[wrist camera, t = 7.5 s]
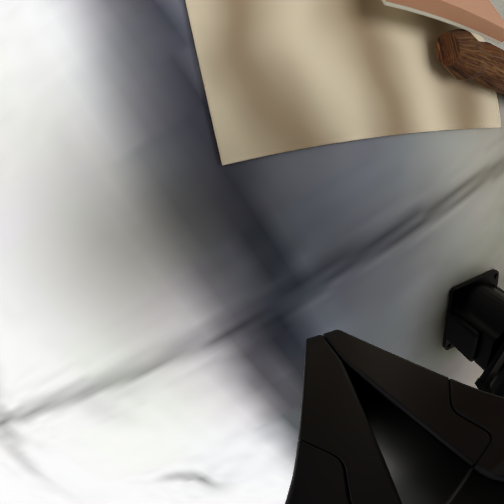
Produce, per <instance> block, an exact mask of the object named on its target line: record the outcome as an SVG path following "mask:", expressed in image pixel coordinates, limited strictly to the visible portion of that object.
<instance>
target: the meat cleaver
mask: <svg viewBox="0 0 504 504" xmlns="http://www.w3.org/2000/svg"><path fill="white" fill-rule="evenodd" d="M435 52H436V56H437V59H438V60H439V62H440V63H441V64H442V65H443V66H444V67H445V69H446V70H447V71H448V72H449V73H450V75H451V76H453V77H454V78H456V79H458V80H468V79H473V80H474V81H476V82H477V83H478V84H480V85H481V86H483V87H486V88H489V89H491V90H494V91H496V92H499V93H501V94H504V51H503V50H502V49H500V48H498V47H496V46H494V45H492V44H490V43H488V42H481V41H478V40H477V39H476V38H475V37H474V36H473V35H472V34H471V32H469V31H467V30H465V29H455V30H451V31H447V32H444V33H442V34H441V35H440V36H439V37H438V38H437V41H436V45H435Z"/></svg>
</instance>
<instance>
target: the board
mask: <svg viewBox="0 0 504 504" xmlns="http://www.w3.org/2000/svg"><path fill="white" fill-rule="evenodd" d="M185 3H186V8H187V12H188V17H189V21H190V26H191V30H192V35H193V39H194V44H195V48H196V53H197V57H198V62H199V66H200V71H201V75H202V80H203V84H204V89H205V93H206V98H207V102H208V106H209V111H210V115H211V120H212V124H213V128H214V133H215V137H216V141H217V146H218V150H219V154H220V159H221V163H222V165H227V164H231V163H235V162H240V161H244V160H249V159H253V158H258V157H263V156H267V155H272V154H277V153H282V152H287V151H293V150H298V149H303V148H309V147H315V146H320V145H326V144H333V143H339V142H345V141H352V140H359V139H366V138H374V137H381V136H390V135H398V134H407V133H417V132H428V131H440V130H453V129H470V128H494V127H501V119H500V112H499V105H498V99H497V93H496V91H494V90H491V89H489V88H486V87H483V86H481V85H480V84H478V83H477V82H476V81H474V80H473V79H468V80H458V79H456V78H454V77H453V76H451V75H450V73H449V72H448V71H447V70H446V69H445V67H444V66H443V65H442V64H441V63H440V62H439V60H438V59H437V56H436V52H435V45H436V41H437V38H438V37H439V36H440V35H441V34H442V33H444V32H447V31H451V30H455V29H462V28H460V27H457V26H454V25H452V24H449V23H446V22H443V21H440V20H437V19H434V18H431V17H428V16H424V15H421V14H418V13H414V12H410V11H407V10H403V9H399V8H395V7H391V6H387V5H384V3H383V2H382V0H185ZM469 32H470V31H469ZM471 34H472V35H473V36H474V37H475V38H476V39H477V40H478V41H481V42H485V41H484V38H483V37H482V36H480V35H477V34H475V33H472V32H471Z"/></svg>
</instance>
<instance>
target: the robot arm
mask: <svg viewBox="0 0 504 504" xmlns="http://www.w3.org/2000/svg"><path fill="white" fill-rule="evenodd" d="M498 276H499V272H498V271H497V270H495V269H494V270H492V271H489V272H487V273H485V274H483V275H481V276H479V277H476V278H474V279H472V280H470V281H467V282H465V283H463V284H461V285H458V286H456V287H454V288H452V289H451V291H450V293H449V302H448V311H447V320H446V327H445V334H444V341H443V348H444V349H445V350H449V349H451V348H453V347H454V346H455V347H456V348H457V349H458V350H459V351H460V352H461V353H462V354H463V355H464V356H465V357H466V358H467V359H468V360H470V361H475V362H476V363H477V364H478V365H479V366H480V367H481V368H482V369H483V370H484V372H483V373H482V375H481V376H480V378H478V379H477V381H476V382H475V385H476V386H477V388H478V389H476V388H473V387H470V386H468V385H465V384H463V383H460V382H458V381H455V380H453V379H450V380H449V379H448V377H445V376H443V375H441V374H438V373H436V372H434V371H431V370H429V369H427V368H424V367H422V366H420V365H417V364H415V363H413V362H410V361H408V360H406V359H403V358H401V357H399V356H396V355H394V354H392V353H390V352H387V351H385V350H383V349H381V348H378V347H376V346H374V345H372V344H369V343H367V342H365V341H363V340H360V339H358V338H356V337H354V336H352V335H349V334H347V333H345V332H343V331H341V330H334V331H331V332H328V333H325V334H324V335H323V336H322V335H318V336H315V337H311V338H308V339H307V340H306V346H305V362H304V376H303V389H302V402H301V413H300V424H299V434H298V442H297V451H296V459H295V465H294V471H293V477H292V481H291V484H290V488H289V492H288V495H287V499H286V502H285V504H504V291H503V290H502V289H500V288H498V287H497V283H498Z"/></svg>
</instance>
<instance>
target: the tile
mask: <svg viewBox="0 0 504 504" xmlns="http://www.w3.org/2000/svg"><path fill="white" fill-rule="evenodd" d="M382 2H383V3H384V5H387V6H391V7H395V8H399V9H403V10H407V11H410V12H414V13H418V14H421V15H424V16H428V17H431V18H434V19H437V20H440V21H443V22H446V23H449V24H452V25H454V26H457V27H460V28H462V29H465V30H467V31H470V32H472V33H475V34H477V35H480V36H482V37H484V38H487V39H489V40H491V41H493V42H495V43H497V44H501V43H502V42H503V41H504V20H503V19H502V18H501V16H500V15H499V13H498V12H497V10H496V9H495V8H494V6H493V5H492V4H491V2H490V1H489V0H382Z"/></svg>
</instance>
